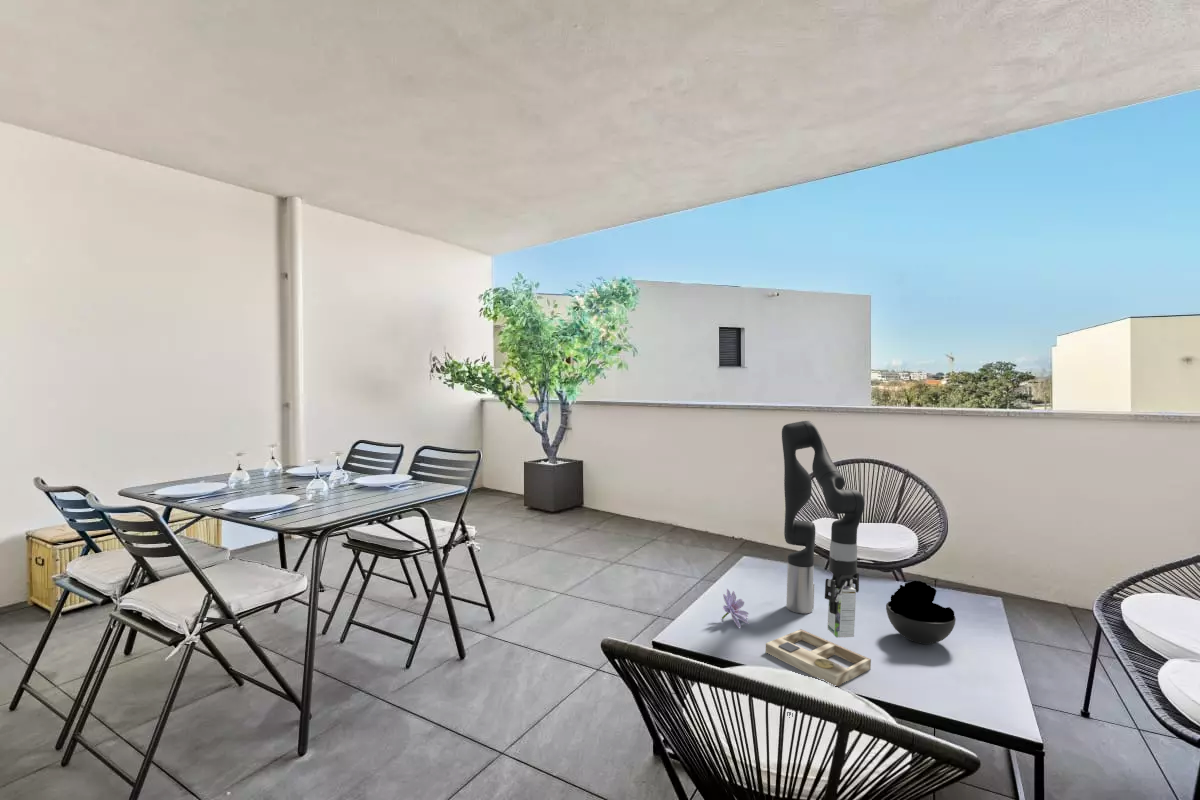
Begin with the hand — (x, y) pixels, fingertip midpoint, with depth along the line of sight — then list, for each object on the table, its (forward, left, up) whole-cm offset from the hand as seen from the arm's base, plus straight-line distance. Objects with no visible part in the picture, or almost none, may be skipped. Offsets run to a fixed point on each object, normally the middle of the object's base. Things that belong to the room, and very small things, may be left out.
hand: (841, 610), depth 168 cm
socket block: (+3, -6, -17) cm, 18 cm away
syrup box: (0, 0, -7) cm, 7 cm away
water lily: (+3, -38, -17) cm, 42 cm away
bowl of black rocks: (-38, +5, -17) cm, 42 cm away
